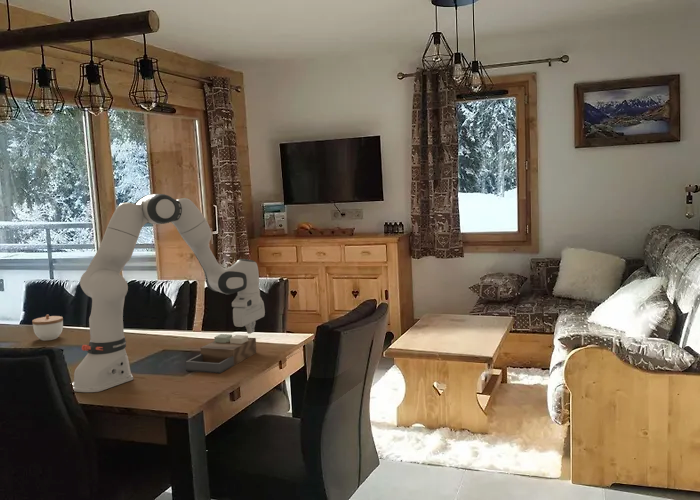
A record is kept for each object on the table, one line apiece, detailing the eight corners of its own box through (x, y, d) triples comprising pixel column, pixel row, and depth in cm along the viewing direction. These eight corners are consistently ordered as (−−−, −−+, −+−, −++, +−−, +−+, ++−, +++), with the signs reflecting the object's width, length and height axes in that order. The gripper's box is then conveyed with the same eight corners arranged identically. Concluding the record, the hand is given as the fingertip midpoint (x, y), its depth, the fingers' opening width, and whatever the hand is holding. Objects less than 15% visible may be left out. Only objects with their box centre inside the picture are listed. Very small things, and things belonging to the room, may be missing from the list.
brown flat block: (233, 365, 234) (233, 349, 233) (201, 363, 239) (200, 347, 238) (256, 352, 251) (255, 337, 250) (225, 350, 256) (224, 336, 255)
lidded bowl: (44, 343, 278) (42, 318, 277) (27, 340, 285) (25, 316, 284) (70, 336, 289) (68, 313, 288) (53, 334, 295) (51, 311, 294)
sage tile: (225, 342, 244) (225, 337, 244) (214, 342, 246) (214, 337, 245) (232, 339, 249) (232, 334, 249) (221, 339, 250) (220, 334, 250)
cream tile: (241, 343, 242) (241, 338, 242) (230, 343, 243) (230, 338, 243) (248, 340, 246) (247, 335, 246) (236, 339, 248) (236, 334, 248)
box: (219, 373, 225) (219, 363, 224) (186, 370, 229) (185, 361, 229) (233, 365, 234) (233, 356, 234) (201, 363, 239) (200, 354, 238)
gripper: (254, 294, 263) (255, 326, 265) (229, 303, 244) (231, 338, 245) (267, 294, 261) (269, 327, 262) (243, 304, 242) (245, 339, 243)
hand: (250, 332), depth 254 cm, fingers closed
